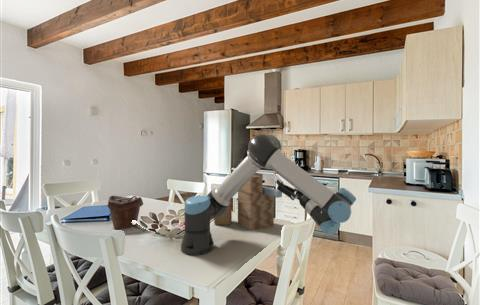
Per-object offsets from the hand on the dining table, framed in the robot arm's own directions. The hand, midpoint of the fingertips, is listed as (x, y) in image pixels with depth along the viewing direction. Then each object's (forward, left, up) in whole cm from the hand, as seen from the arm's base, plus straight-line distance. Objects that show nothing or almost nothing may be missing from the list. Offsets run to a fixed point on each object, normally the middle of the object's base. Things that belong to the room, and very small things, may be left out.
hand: (285, 176), depth 129 cm
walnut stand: (-3, +26, -32) cm, 41 cm away
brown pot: (-73, +60, -32) cm, 100 cm away
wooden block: (-19, +37, -32) cm, 53 cm away
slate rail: (+1, +20, -12) cm, 24 cm away
